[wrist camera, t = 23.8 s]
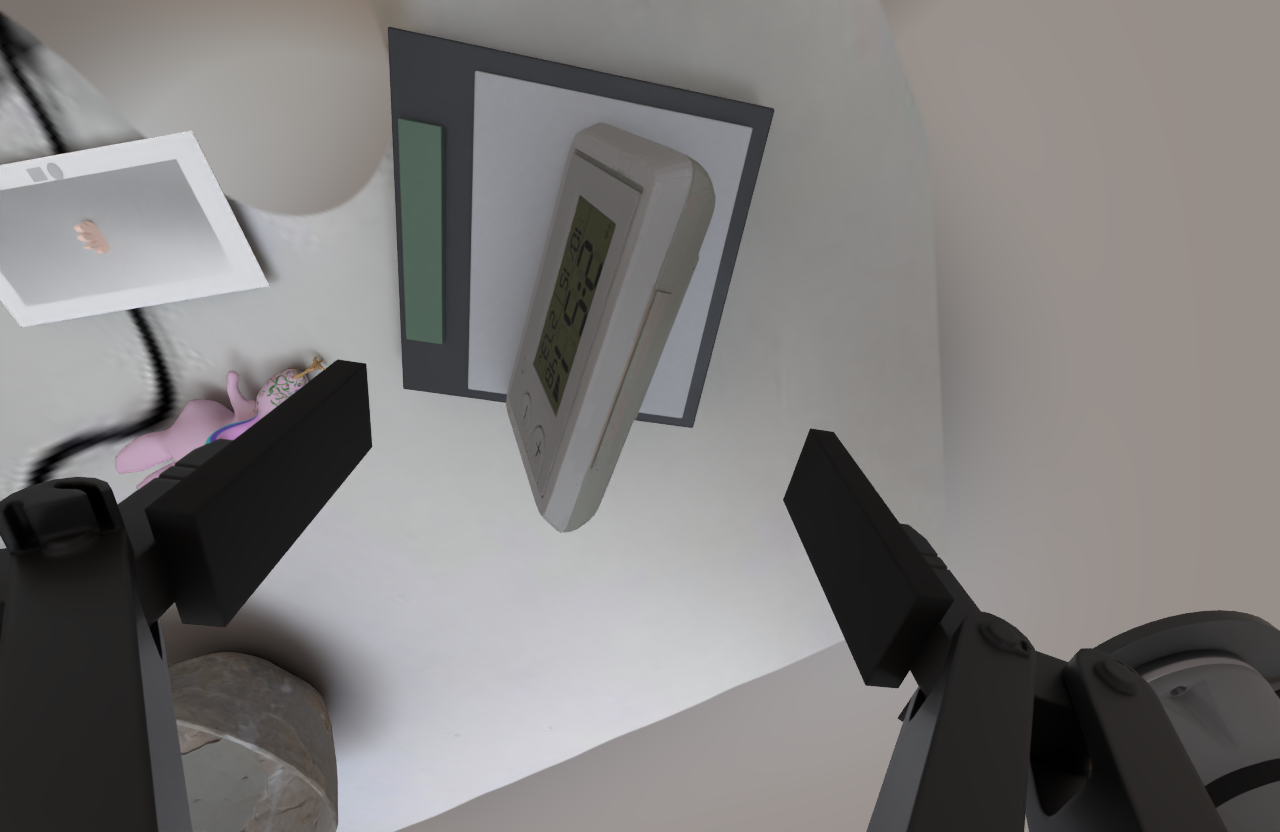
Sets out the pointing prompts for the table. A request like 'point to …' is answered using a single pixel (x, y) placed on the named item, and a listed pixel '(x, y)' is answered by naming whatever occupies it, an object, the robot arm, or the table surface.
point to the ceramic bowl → (253, 746)
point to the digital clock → (602, 311)
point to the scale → (538, 205)
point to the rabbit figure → (209, 423)
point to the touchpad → (117, 231)
